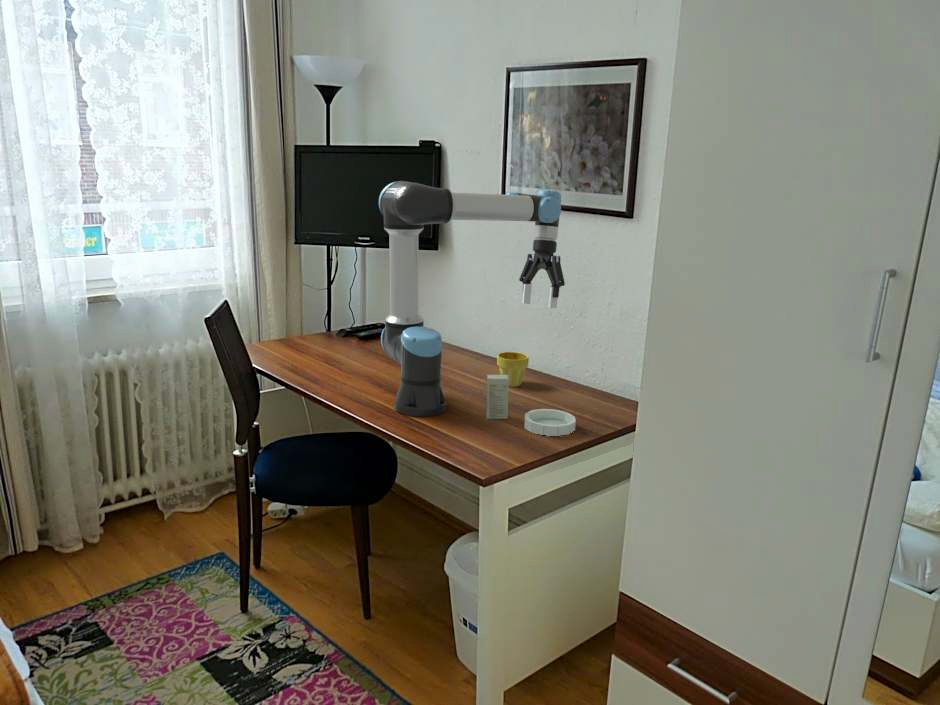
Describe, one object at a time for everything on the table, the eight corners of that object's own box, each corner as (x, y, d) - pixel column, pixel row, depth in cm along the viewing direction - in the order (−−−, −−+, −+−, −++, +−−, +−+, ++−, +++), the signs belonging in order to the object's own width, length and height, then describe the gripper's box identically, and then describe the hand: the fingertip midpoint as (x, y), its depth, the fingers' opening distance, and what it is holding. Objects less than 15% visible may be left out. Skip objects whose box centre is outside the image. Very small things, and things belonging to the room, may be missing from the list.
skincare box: (506, 414, 216) (508, 374, 212) (507, 419, 211) (510, 378, 208) (484, 413, 215) (486, 373, 212) (485, 418, 211) (487, 378, 208)
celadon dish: (540, 439, 197) (541, 428, 196) (515, 422, 209) (515, 412, 209) (584, 432, 203) (585, 422, 203) (557, 416, 215) (557, 406, 215)
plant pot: (524, 389, 239) (526, 360, 237) (493, 386, 241) (494, 357, 239) (528, 381, 249) (530, 353, 247) (498, 378, 251) (500, 350, 249)
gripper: (580, 241, 228) (573, 310, 231) (530, 240, 249) (524, 302, 251) (562, 239, 224) (555, 309, 227) (512, 238, 245) (506, 301, 247)
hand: (538, 305), depth 239 cm, fingers open, 13 cm apart
